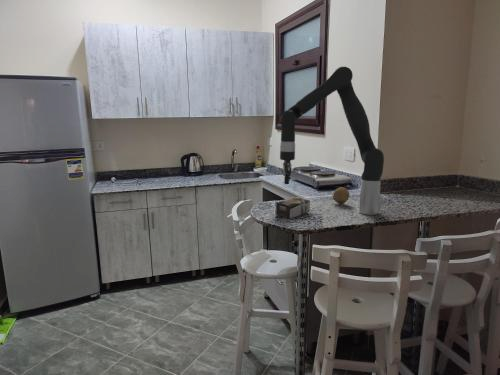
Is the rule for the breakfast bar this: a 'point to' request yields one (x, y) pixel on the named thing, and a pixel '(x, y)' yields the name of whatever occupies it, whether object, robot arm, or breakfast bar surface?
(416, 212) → the breakfast bar surface
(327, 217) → the breakfast bar surface
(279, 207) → the coffee box
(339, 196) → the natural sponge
